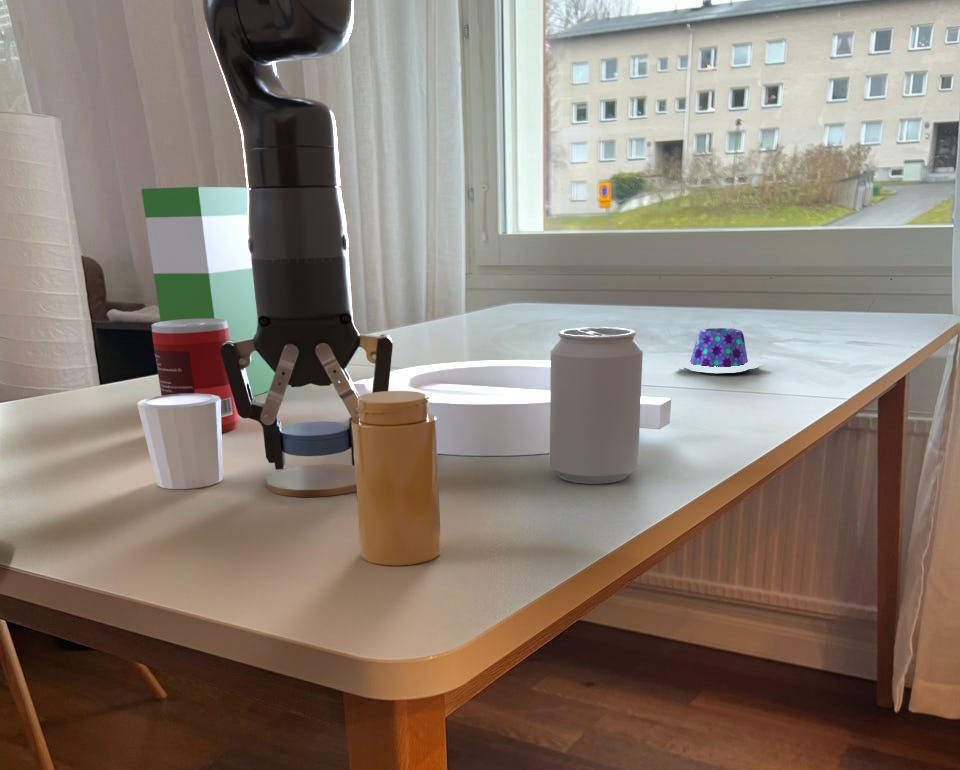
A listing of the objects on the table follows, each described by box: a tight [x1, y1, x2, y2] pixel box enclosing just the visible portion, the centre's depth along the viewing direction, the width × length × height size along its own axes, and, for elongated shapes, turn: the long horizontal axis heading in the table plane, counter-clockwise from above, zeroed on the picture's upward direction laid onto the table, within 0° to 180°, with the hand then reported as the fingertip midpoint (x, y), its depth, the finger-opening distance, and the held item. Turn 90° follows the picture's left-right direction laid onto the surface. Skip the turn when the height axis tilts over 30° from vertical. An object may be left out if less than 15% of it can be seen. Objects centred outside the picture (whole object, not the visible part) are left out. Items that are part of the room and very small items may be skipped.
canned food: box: [151, 319, 240, 434], centre depth 105 cm, size 8×8×11 cm
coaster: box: [265, 463, 356, 498], centre depth 84 cm, size 9×9×1 cm
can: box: [549, 327, 644, 485], centre depth 83 cm, size 8×8×12 cm
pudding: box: [690, 327, 749, 367], centre depth 136 cm, size 12×12×5 cm
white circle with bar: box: [352, 359, 672, 457], centre depth 104 cm, size 28×28×5 cm
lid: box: [281, 421, 351, 457], centre depth 83 cm, size 6×6×2 cm
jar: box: [351, 391, 442, 567], centre depth 65 cm, size 5×5×10 cm
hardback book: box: [141, 186, 275, 397], centre depth 123 cm, size 18×7×24 cm, turn 162°
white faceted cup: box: [136, 393, 224, 490], centre depth 85 cm, size 7×7×7 cm
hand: (318, 464), depth 84 cm, fingers closed on lid, 5 cm apart
